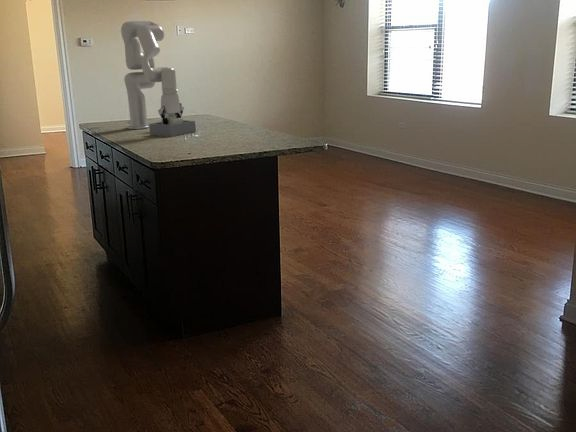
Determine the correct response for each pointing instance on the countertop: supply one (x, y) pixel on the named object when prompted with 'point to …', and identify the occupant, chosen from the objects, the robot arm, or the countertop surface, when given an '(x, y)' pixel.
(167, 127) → the charcoal crate
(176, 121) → the sage crate
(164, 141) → the countertop surface
